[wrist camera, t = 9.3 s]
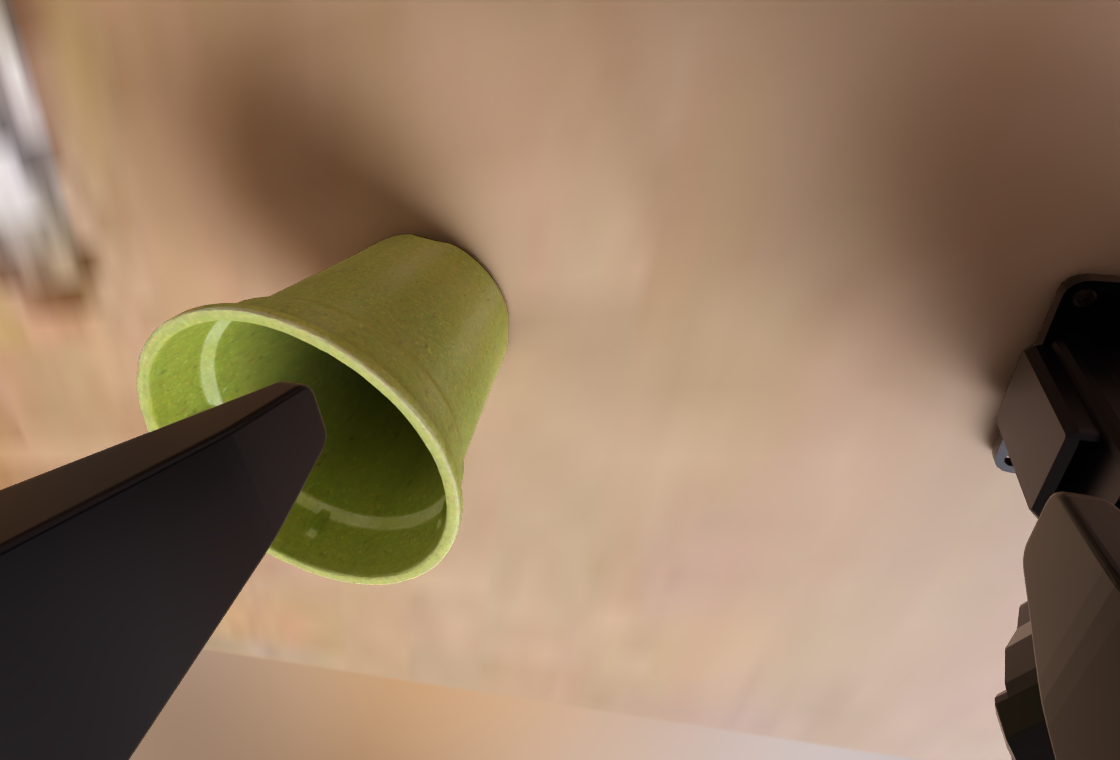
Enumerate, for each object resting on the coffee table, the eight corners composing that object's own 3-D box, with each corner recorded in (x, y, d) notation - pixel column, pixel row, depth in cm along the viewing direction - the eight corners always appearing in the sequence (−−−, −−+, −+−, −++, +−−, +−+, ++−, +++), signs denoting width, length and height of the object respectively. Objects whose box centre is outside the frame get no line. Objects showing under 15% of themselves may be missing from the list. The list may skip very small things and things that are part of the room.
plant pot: (611, 352, 23) (531, 536, 16) (440, 446, 28) (325, 615, 21) (428, 125, 20) (241, 232, 14) (276, 275, 26) (86, 407, 19)
